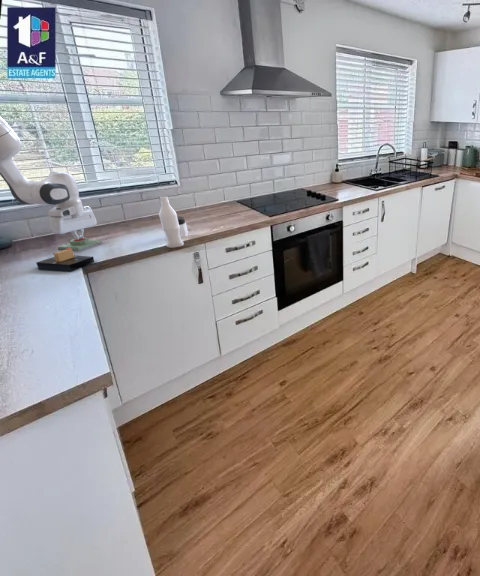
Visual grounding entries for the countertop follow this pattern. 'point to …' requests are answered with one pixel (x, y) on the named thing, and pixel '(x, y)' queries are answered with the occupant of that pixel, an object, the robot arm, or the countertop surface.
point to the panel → (65, 263)
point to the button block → (78, 244)
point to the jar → (182, 227)
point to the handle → (63, 255)
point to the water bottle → (170, 224)
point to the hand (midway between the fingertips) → (79, 239)
